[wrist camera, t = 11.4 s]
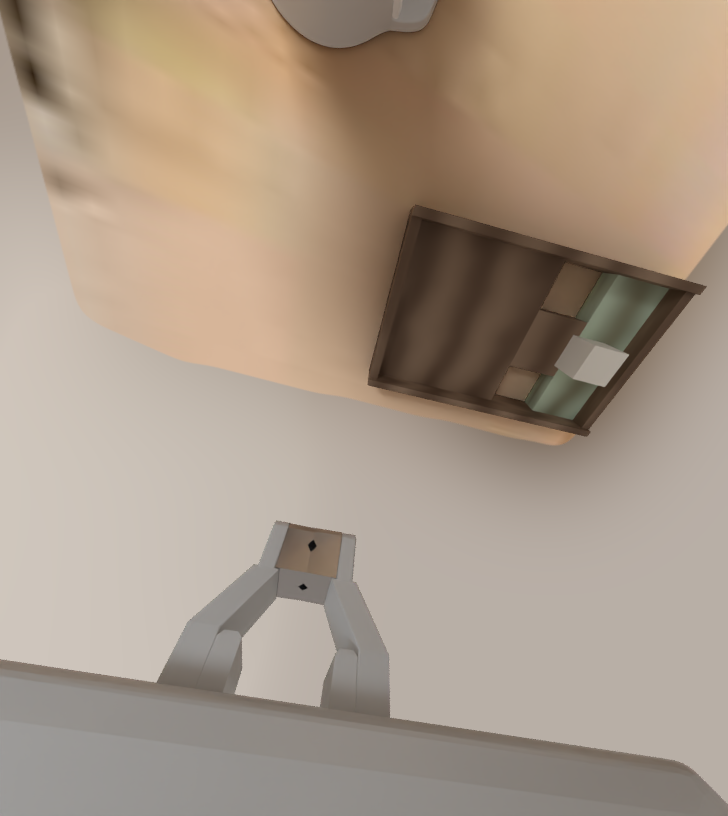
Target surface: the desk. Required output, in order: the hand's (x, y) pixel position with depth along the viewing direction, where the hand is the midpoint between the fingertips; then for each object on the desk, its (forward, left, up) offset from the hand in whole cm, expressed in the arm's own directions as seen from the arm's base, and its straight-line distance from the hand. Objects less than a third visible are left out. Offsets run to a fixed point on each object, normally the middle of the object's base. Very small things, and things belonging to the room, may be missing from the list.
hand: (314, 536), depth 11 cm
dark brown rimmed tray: (-11, +14, -31) cm, 35 cm away
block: (-14, +22, -28) cm, 39 cm away
